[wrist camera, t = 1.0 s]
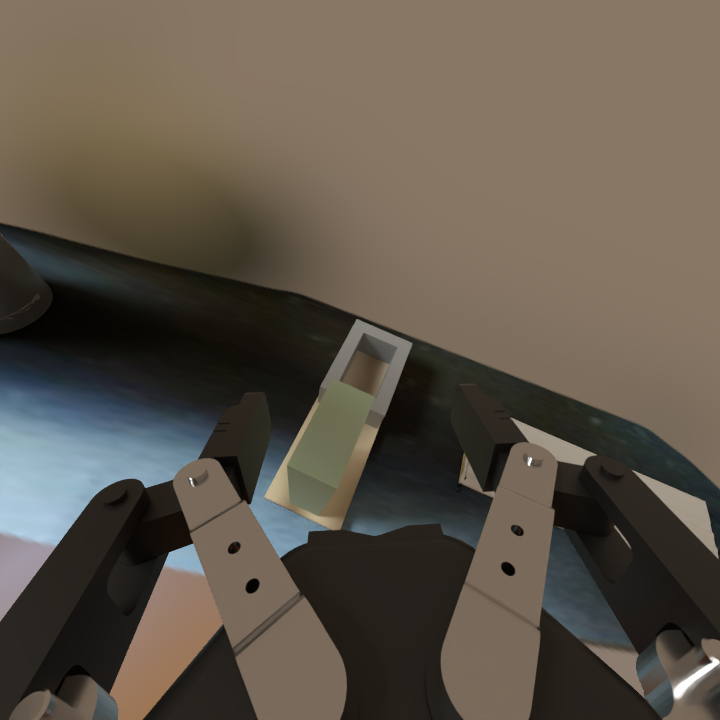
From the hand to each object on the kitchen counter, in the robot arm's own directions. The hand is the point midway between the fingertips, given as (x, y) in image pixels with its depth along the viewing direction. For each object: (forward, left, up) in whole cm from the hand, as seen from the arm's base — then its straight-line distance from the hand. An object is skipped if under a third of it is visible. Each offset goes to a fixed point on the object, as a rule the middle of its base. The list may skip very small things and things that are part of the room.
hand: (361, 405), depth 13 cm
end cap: (-1, +14, -22) cm, 26 cm away
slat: (-1, +1, -22) cm, 22 cm away
